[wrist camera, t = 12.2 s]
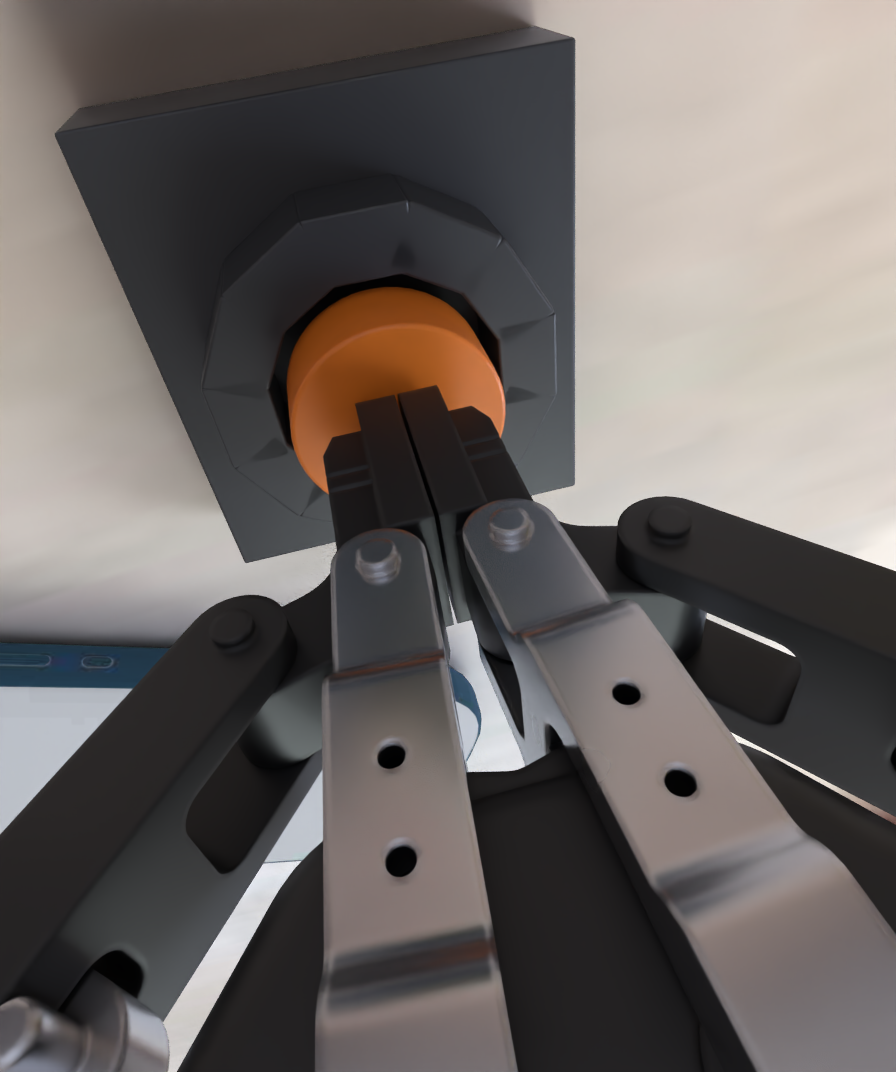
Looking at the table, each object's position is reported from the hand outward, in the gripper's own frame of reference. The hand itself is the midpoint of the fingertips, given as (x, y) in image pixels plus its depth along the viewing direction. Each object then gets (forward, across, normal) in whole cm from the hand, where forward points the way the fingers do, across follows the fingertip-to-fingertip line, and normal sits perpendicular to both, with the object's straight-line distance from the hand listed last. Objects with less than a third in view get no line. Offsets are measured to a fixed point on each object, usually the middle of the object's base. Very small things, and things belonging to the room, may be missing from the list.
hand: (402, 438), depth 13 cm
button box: (+6, 0, 0) cm, 6 cm away
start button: (+2, 0, 0) cm, 2 cm away
